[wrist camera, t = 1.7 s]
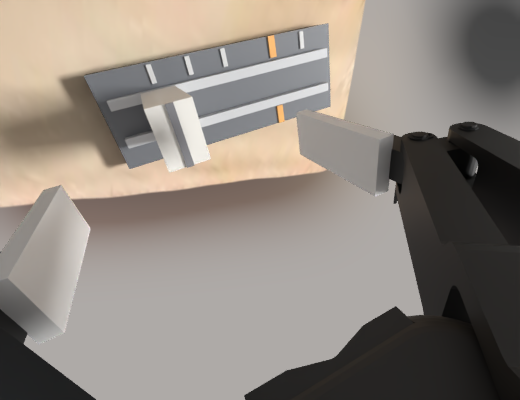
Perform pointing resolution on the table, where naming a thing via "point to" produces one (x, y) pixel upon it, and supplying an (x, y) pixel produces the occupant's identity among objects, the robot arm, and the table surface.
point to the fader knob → (175, 127)
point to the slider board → (220, 88)
